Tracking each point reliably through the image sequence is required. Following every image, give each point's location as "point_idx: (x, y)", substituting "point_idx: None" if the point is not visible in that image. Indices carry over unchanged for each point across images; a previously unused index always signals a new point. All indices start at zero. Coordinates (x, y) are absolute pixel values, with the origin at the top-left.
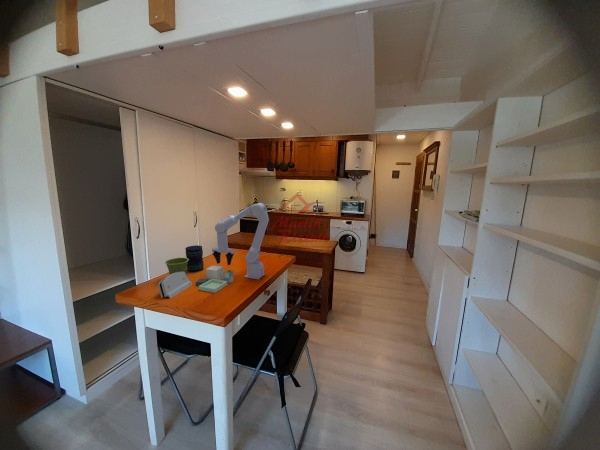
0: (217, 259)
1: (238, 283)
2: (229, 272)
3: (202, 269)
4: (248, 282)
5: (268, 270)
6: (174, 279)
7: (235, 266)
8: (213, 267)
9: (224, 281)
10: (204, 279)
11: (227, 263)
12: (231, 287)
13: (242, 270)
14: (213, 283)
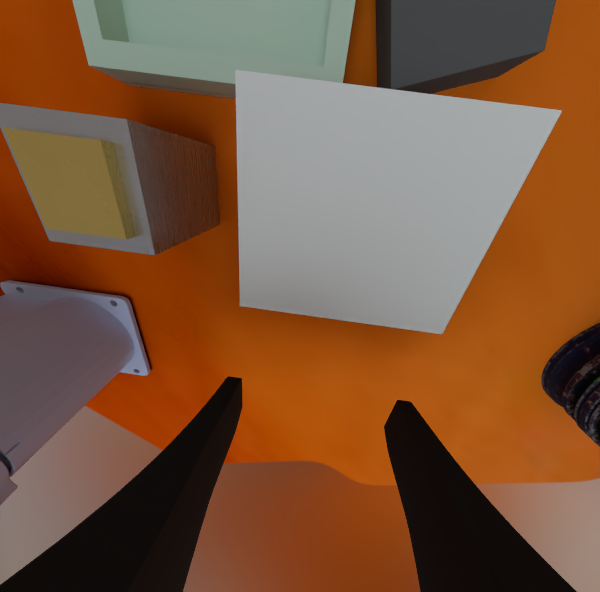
0: (429, 474)
1: None
2: (25, 152)
3: (554, 369)
4: (16, 210)
5: (89, 406)
6: None
7: (313, 433)
8: (398, 244)
9: (112, 46)
10: (447, 19)
11: (230, 396)
12: (31, 22)
13: None
14: (283, 36)
